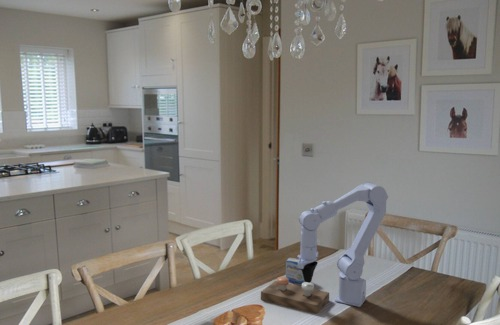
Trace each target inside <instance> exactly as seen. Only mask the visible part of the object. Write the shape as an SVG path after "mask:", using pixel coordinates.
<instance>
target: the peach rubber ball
mask: <svg viewBox="0 0 500 325" xmlns="http://www.w3.org/2000/svg"><path fill="white" fill-rule="evenodd" d="M276 281H277V284H279V290H282V291H284V290H286V285H288V284H290V281H289V279H288V278H287V277H286V276H279V277H277V278H276Z"/></svg>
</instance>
